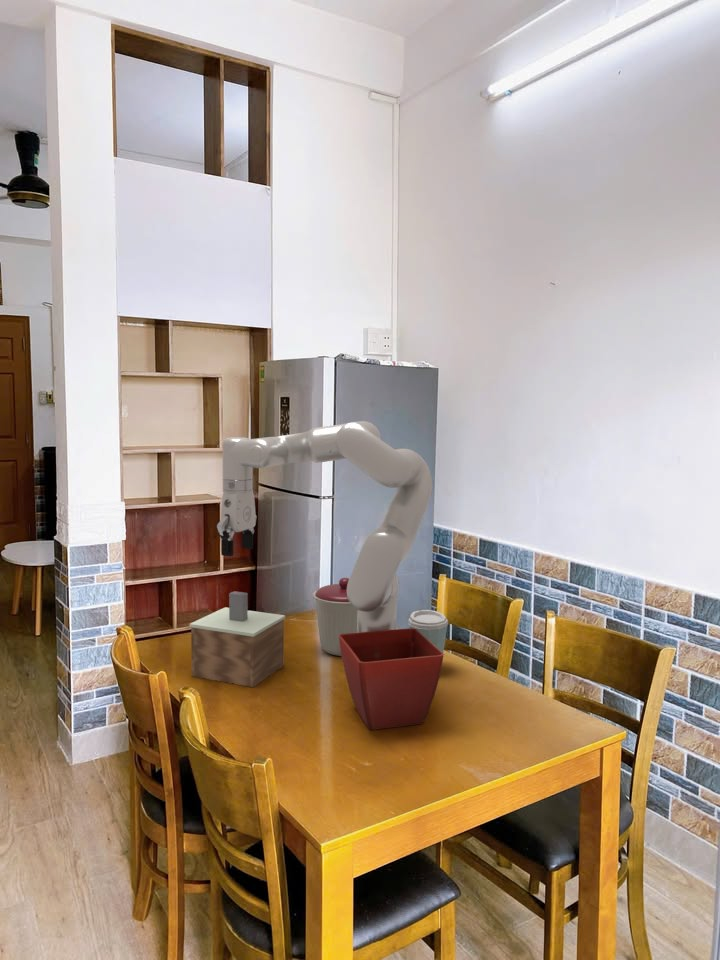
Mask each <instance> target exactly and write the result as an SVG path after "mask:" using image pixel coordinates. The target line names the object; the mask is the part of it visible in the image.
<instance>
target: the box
mask: <svg viewBox="0 0 720 960" xmlns="http://www.w3.org/2000/svg"><path fill="white" fill-rule="evenodd" d="M284 625H285V619H283V620H282V621H280V622H278V623H276V624H275V625H273V626H271V627H270V628H268V629H266V630H264V631H263V632H261V633H259V634H257V635H256V636H254V637H252V636H246V635H239V634H232V633H226V632H219V631H213V630H206V629H199V628H193V627H190V630H191V631H190V633H191V635H190V636H191V637H190V638H191V641H190V642H191V644H190V645H191V646H190V647H191V648H190V649H191V677H193V676H194V678H200V679H204V678H205V679H206V680H210V681H215V680H217V682H223V683H226V682H228V683H227V684H232V683H234V684H233V685H239V686H243V687H251V688H254V687H256V686H257V685H258V684H260V683H261V682H263V681H264V680H266V679H267V678H269V677H271V675H273V674H274V673H275V672H277V671H278V670H280V669H281V668H283V667H284V657H285V655H284V653H285V651H284V647H285V645H284V644H285V643H284V642H285V641H284V636H285V633H284V632H285V631H284V630H285V629H284V628H285V626H284ZM268 676H269V677H268Z"/></svg>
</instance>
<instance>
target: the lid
mask: <svg viewBox="0 0 720 960" xmlns="http://www.w3.org/2000/svg"><path fill="white" fill-rule="evenodd" d="M248 595H249V594H248V592H243V591H234V590H233V591H231V592H230V593H229V594H228V597H229V598H228V600H229V601H228V602H229V603H228V604H229V605H228V606H229V607H226V606H225V607H223V608H221V609H218V610H217V611H214V612H212V613H210V614H208V615H206V616H203V617H201V618H199V619H196V620H195V621H193V622H190V623H189V628H191V627H193V628H199V629H206V630H213V631H219V632H226V633H232V634H239V635H246V636H252V637H254V636H256V635H257V634H259V633H261V632H263V631H264V630H266V629H268V628H270V627H271V626H273V625H275V624H276V623H278V622H280V621H282V620H283V619H284V620H285V619H286V615H284V614H278V613H277V614H276V613H269V612H261V611H255V610H248V605H249V603H248V601H249V599H248Z"/></svg>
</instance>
